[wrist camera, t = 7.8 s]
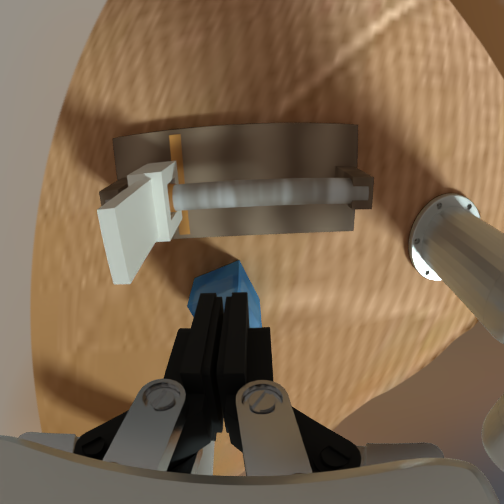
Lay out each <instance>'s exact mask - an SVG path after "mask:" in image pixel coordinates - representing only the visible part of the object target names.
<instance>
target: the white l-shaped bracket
mask: <svg viewBox="0 0 504 504" xmlns="http://www.w3.org/2000/svg"><path fill="white" fill-rule="evenodd" d="M127 180H128V187H127V188H126V189H125V190H123V191H122V192H120V193H119V194H118V195H116V196H115V197H114V198H112V199H111V200H109V201H108V202H107V203H105V204H104V205H103V206H101V207H100V208H99V209H98V210H97V213H98V218H99V223H100V228H101V233H102V237H103V242H104V246H105V251H106V255H107V259H108V263H109V267H110V271H111V275H112V279H113V283H114V284H131V282H132V280H133V279H134V277H135V275H136V274H137V272H138V270H139V269H140V267H141V265H142V264H143V262H144V260H145V259H146V257H147V255H148V254H149V252H150V250H151V249H152V247H153V246H154V244H155V242H165V241H171V239H172V237H173V235H174V233H175V231H176V229H177V227H178V226H179V224H180V222H181V220H182V210H181V211H177V212H170V206H169V197H168V189H167V184H174V183H175V184H179V183H178V173H177V162H176V161H167V162H158V163H149V164H146V165H144V166H142V167H141V168H139V169H137V170H136V171H134V172H132V173H130V174H129V175H127Z"/></svg>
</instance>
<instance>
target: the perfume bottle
mask: <svg viewBox="0 0 504 504" xmlns="http://www.w3.org/2000/svg"><path fill="white" fill-rule="evenodd" d="M232 292H247V293H248V308H249V326H250V328H262V323H261V311H260V299H259V297H258V295H257V293H256V291H255V290H254V288H253V286H252V284H251V282H250V280H249V278H248V276H247V274H246V272H245V270H244V268H243V266H242V265H241V263H240V261H239V260H238V261H235V262H233V263H231V264H228V265H226V266H223V267H221V268H218V269H216V270H214V271H211V272H209V273H206V274H204V275H201V276H199V277H197V278H194V282H193V286H192V289H191V293H190V297H189V301H188V305H187V307H188V308H189V310H190V312H191V313H192V315H193V317H194V315H195V311H196V307H197V304H198V300H199V296H200V293H216V294H217V297H222V300H223V309H225V302H226V297H229V296H232Z"/></svg>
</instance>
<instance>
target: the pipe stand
mask: <svg viewBox="0 0 504 504" xmlns="http://www.w3.org/2000/svg"><path fill="white" fill-rule="evenodd" d="M113 147H114V156H115V164H116V172H117V179H118V181H116V182H114V183H113V184H111V185H109V186H108V187H106V188H104V189H103V190H101V191H100V192H99V194H100V200H101V206H103V205H104V204H105V203H107V202H108V201H109V200H111V199H112V198H114V197H115V196H116V195H118V194H119V193H120V192H122V191H123V190H125V189H126V188H127V187H128V180H127V175H129V174H130V173H132V172H134V171H136V170H137V169H139V168H141V167H142V166H144V165H146V164H149V163H158V162H167V161H176V162H177V173H178V183H179V184H175V183H174V184H167V189H168V197H169V206H170V212H177V211H181V210H182V220H181V222H180V224H179V226H178V227H177V229H176V231H175V233H174V235H173V237H172V239H182V238H201V237H220V236H240V235H262V234H285V233H309V232H336V231H353V230H354V217H355V209H372V199H373V185H374V177H372V176H370V175H369V174H367V173H365V172H363V171H361V170H359V169H358V168H357V158H358V125H354V124H336V123H254V124H232V125H217V126H204V127H193V128H183V129H173V130H165V131H157V132H149V133H142V134H135V135H129V136H122V137H117V138H113Z"/></svg>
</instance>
